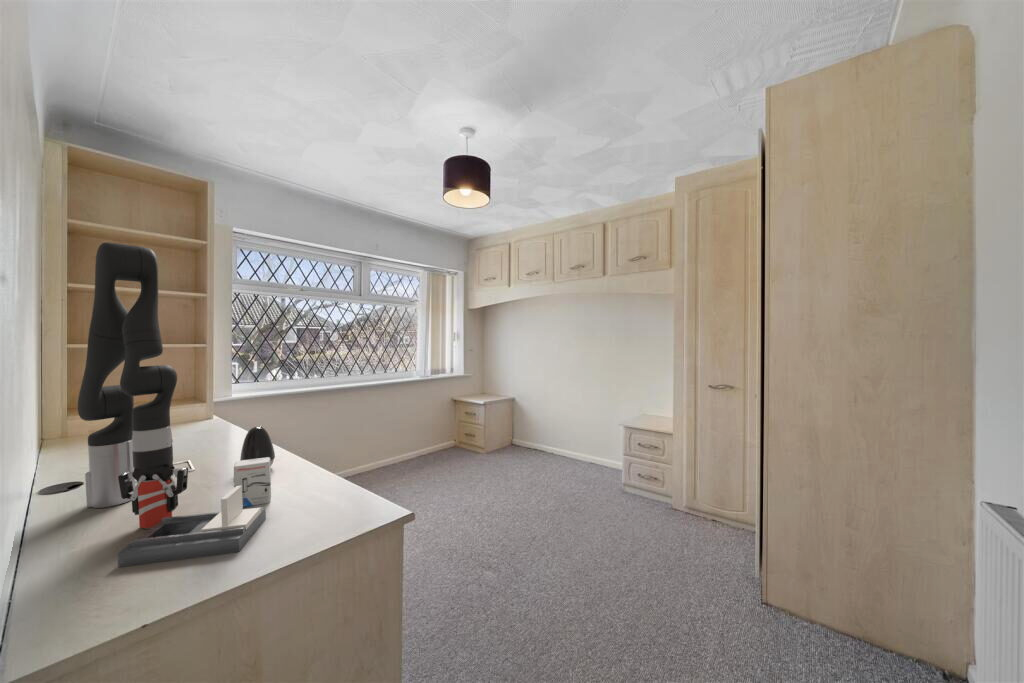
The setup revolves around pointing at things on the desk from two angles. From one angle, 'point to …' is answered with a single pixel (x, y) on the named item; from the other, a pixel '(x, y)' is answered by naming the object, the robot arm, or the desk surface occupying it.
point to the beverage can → (152, 503)
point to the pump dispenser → (257, 445)
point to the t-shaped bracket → (232, 513)
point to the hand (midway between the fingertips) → (155, 511)
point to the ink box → (253, 480)
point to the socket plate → (186, 540)
